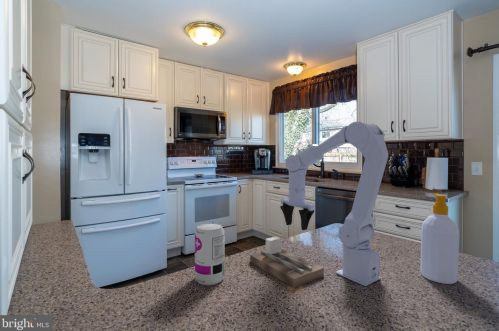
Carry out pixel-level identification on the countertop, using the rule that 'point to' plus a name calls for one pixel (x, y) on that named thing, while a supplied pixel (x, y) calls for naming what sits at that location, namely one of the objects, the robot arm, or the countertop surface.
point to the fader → (273, 245)
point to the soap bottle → (440, 245)
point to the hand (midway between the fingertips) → (296, 227)
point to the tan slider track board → (287, 267)
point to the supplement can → (209, 253)
